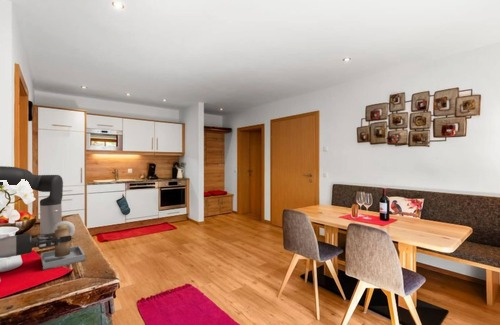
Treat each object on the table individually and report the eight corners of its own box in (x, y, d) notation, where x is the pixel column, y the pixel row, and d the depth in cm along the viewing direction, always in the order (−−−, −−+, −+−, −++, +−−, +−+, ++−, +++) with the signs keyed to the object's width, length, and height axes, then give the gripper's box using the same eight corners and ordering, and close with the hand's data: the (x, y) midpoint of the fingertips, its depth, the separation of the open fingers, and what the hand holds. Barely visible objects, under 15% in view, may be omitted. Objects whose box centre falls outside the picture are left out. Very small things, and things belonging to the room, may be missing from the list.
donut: (74, 237, 134) (74, 218, 134) (75, 239, 131) (75, 220, 131) (51, 241, 128) (50, 222, 128) (51, 243, 125) (50, 223, 125)
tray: (41, 259, 105) (41, 253, 105) (79, 251, 114) (79, 245, 114) (43, 270, 95) (42, 263, 95) (85, 260, 104) (85, 254, 103)
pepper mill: (54, 254, 104) (54, 225, 104) (69, 251, 108) (68, 223, 108) (55, 258, 101) (55, 228, 101) (70, 254, 104) (70, 226, 104)
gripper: (14, 240, 89) (72, 231, 101) (15, 231, 100) (68, 224, 111) (14, 261, 89) (72, 249, 101) (15, 250, 100) (68, 241, 111)
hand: (70, 236), depth 106 cm, fingers closed on pepper mill, 5 cm apart
